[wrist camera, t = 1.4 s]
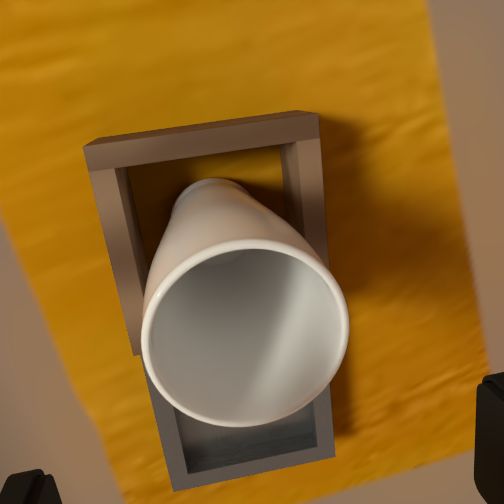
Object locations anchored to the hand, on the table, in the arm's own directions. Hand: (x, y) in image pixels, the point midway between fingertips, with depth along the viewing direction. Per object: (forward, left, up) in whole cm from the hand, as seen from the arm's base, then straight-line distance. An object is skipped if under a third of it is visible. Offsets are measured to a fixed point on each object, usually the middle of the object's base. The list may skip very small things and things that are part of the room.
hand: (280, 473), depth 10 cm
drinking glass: (0, 0, -20) cm, 20 cm away
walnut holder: (0, 0, -20) cm, 20 cm away
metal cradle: (+12, 0, -20) cm, 23 cm away
